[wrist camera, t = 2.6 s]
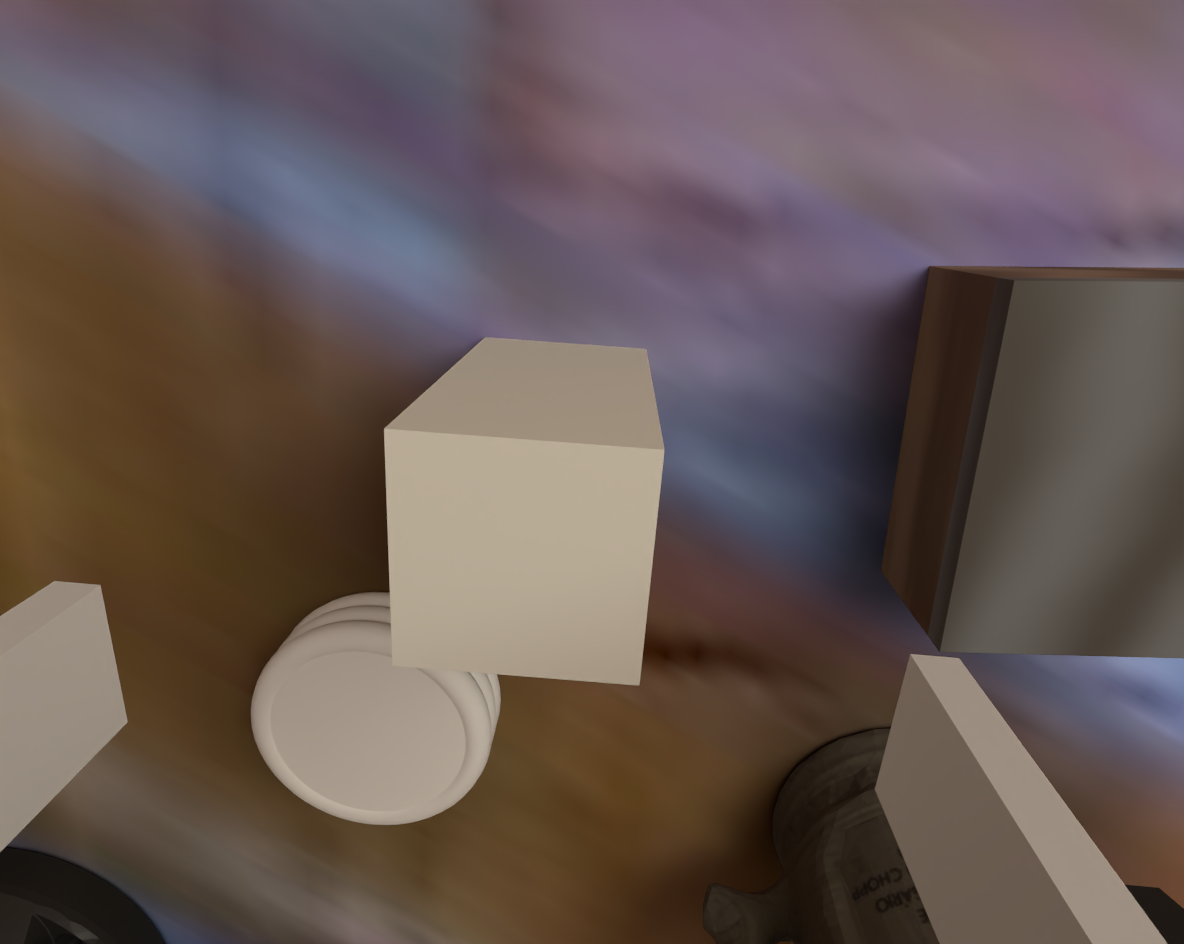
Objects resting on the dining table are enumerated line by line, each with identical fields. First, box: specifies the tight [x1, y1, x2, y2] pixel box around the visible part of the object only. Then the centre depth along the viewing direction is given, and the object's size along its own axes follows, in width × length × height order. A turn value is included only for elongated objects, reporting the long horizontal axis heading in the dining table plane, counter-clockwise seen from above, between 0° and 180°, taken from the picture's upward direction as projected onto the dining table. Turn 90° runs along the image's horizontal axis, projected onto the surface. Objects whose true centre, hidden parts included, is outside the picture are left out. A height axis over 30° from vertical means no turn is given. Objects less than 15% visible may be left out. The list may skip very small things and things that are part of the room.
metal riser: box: [881, 266, 1184, 658], centre depth 24 cm, size 12×12×6 cm
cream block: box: [384, 337, 664, 685], centre depth 22 cm, size 6×6×12 cm
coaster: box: [251, 592, 501, 825], centre depth 31 cm, size 10×10×4 cm
